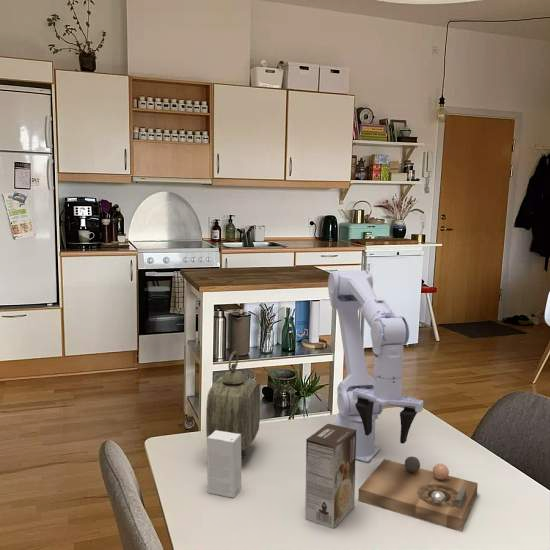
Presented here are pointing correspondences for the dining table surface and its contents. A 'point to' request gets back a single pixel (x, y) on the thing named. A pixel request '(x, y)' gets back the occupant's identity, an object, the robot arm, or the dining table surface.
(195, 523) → the dining table surface
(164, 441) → the dining table surface
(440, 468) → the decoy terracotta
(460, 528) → the bore plate
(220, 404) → the ribbed lantern with ring
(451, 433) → the dining table surface
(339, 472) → the coffee box
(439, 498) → the steel ball
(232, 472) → the skincare box
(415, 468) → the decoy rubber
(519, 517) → the dining table surface
